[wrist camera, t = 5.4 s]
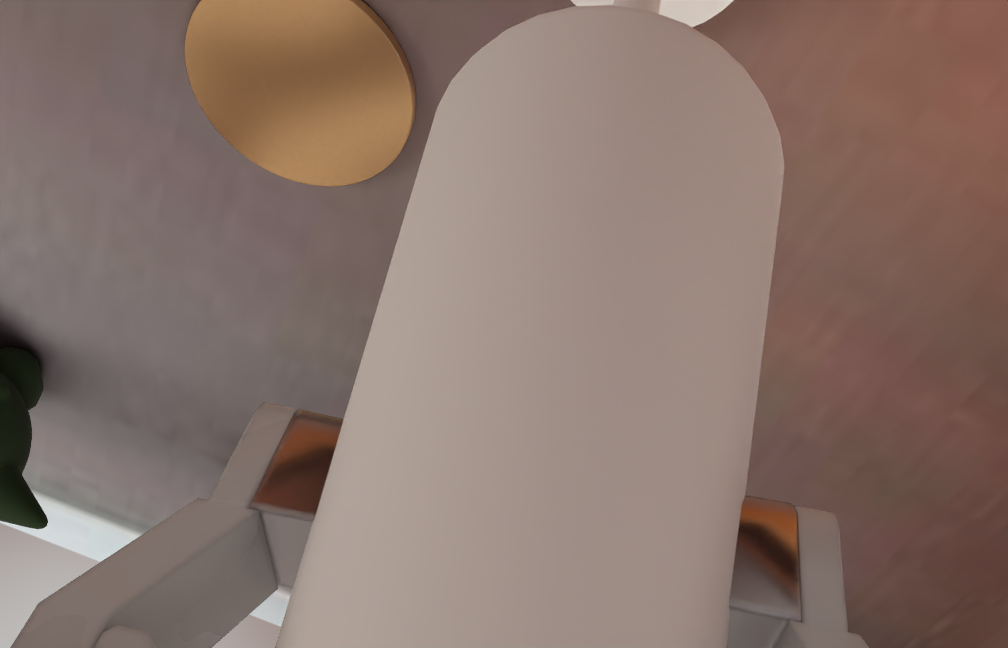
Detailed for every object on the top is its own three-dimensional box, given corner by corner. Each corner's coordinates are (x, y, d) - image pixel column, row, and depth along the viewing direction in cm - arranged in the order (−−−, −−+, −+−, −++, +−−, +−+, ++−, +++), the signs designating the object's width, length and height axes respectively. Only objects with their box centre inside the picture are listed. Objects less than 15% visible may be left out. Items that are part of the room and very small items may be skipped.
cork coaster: (463, 93, 33) (460, 100, 33) (330, 215, 38) (327, 222, 38) (266, -91, 29) (260, -85, 29) (151, 72, 35) (144, 78, 35)
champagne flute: (705, -258, 23) (574, 550, 6) (809, -33, 26) (921, 903, 9) (497, -111, 26) (37, 659, 9) (612, 71, 29) (428, 884, 13)
